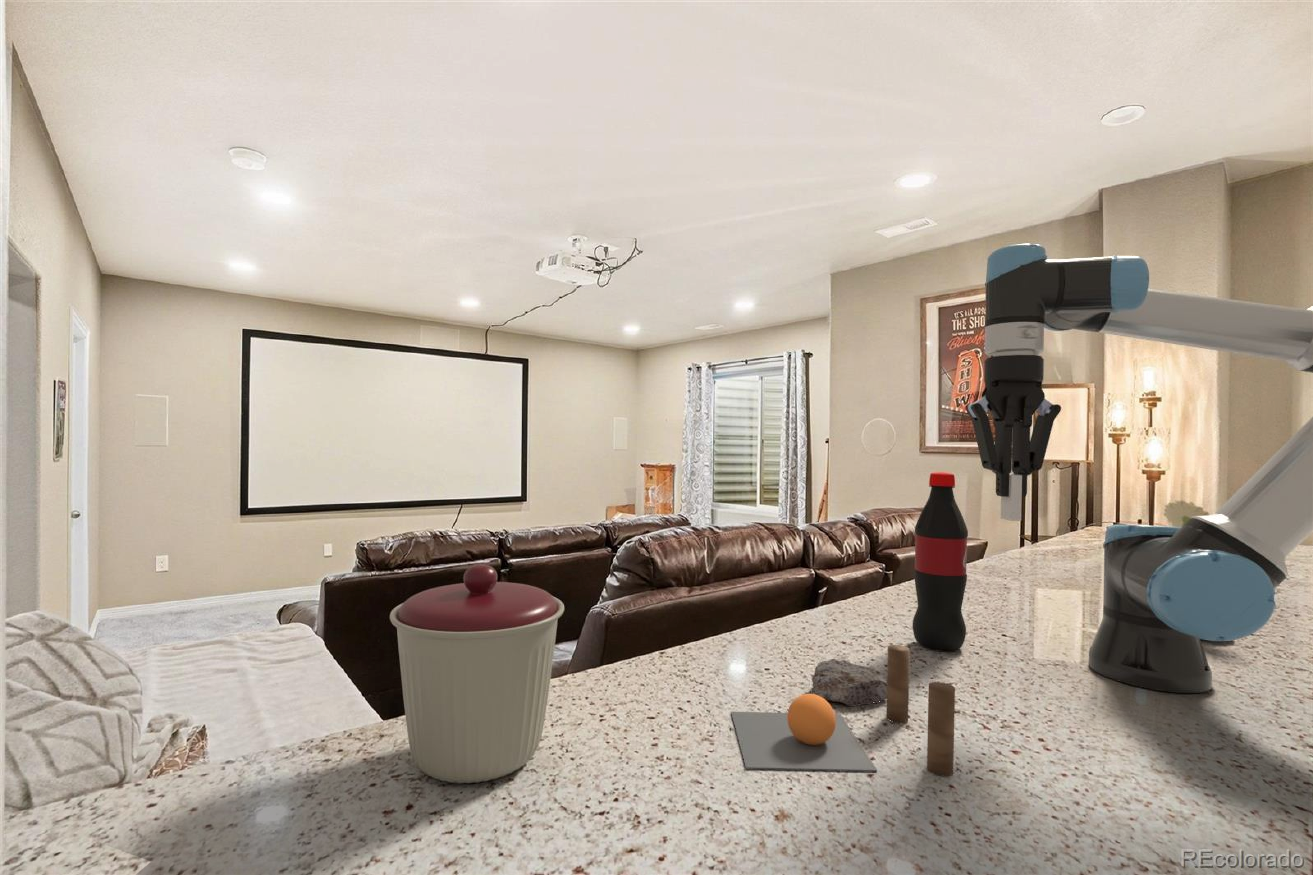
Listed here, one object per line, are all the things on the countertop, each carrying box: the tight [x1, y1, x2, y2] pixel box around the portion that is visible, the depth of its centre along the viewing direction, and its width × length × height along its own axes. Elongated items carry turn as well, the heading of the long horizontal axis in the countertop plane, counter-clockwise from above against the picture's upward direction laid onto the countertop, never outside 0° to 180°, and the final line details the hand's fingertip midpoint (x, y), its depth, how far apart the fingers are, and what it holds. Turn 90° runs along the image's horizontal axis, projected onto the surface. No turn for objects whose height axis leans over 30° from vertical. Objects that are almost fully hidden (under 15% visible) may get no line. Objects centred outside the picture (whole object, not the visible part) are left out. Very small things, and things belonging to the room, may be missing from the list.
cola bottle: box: [912, 471, 969, 653], centre depth 113 cm, size 8×8×30 cm
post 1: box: [885, 644, 911, 724], centre depth 83 cm, size 3×3×9 cm
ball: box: [787, 693, 836, 745], centre depth 76 cm, size 6×6×6 cm
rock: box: [811, 658, 887, 707], centre depth 91 cm, size 9×11×4 cm
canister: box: [389, 563, 565, 784], centre depth 71 cm, size 18×18×21 cm
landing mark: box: [731, 711, 878, 772], centre depth 77 cm, size 14×14×1 cm
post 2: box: [926, 681, 956, 777], centre depth 70 cm, size 3×3×9 cm
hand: (1010, 519), depth 94 cm, fingers closed
